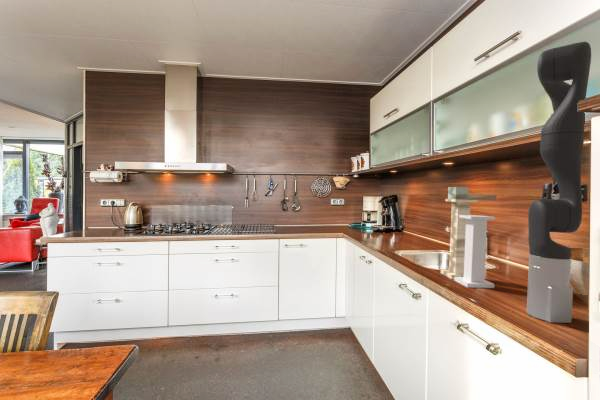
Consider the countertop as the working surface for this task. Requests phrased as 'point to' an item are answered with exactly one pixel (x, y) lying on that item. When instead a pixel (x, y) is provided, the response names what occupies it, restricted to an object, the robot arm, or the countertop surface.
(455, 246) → the beige wooden post
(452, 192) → the mallet
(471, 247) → the white pedestal stand
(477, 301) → the countertop surface
